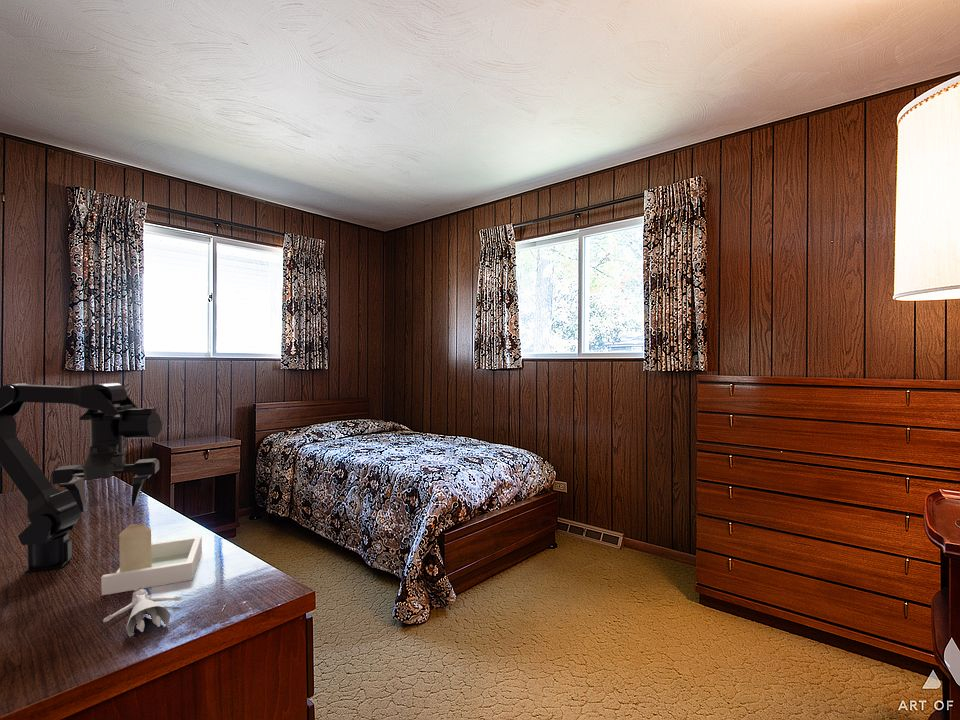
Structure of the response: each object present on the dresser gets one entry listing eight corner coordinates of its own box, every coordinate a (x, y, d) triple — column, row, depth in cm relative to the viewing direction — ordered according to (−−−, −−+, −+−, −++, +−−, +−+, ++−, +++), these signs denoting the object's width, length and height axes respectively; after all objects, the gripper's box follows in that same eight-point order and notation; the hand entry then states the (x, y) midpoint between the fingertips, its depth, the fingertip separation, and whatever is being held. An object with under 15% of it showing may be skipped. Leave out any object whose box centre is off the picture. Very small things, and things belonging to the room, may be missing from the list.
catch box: (101, 595, 94) (101, 577, 94) (124, 562, 109) (123, 547, 109) (192, 579, 100) (192, 562, 100) (201, 550, 115) (201, 536, 115)
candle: (114, 574, 102) (113, 527, 102) (142, 564, 107) (141, 519, 107) (128, 580, 99) (127, 531, 99) (157, 569, 104) (156, 523, 104)
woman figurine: (105, 625, 76) (100, 591, 89) (105, 655, 75) (100, 616, 89) (191, 600, 83) (174, 572, 97) (192, 627, 83) (175, 595, 97)
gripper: (38, 449, 98) (40, 526, 98) (149, 441, 106) (150, 513, 106) (59, 440, 108) (61, 510, 108) (159, 434, 116) (160, 499, 116)
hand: (108, 508), depth 109 cm, fingers open, 9 cm apart
